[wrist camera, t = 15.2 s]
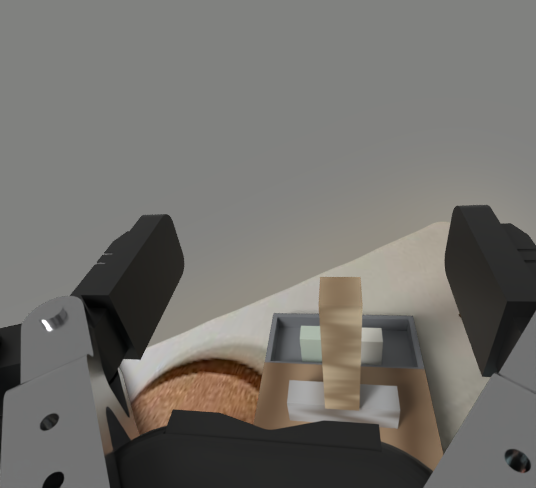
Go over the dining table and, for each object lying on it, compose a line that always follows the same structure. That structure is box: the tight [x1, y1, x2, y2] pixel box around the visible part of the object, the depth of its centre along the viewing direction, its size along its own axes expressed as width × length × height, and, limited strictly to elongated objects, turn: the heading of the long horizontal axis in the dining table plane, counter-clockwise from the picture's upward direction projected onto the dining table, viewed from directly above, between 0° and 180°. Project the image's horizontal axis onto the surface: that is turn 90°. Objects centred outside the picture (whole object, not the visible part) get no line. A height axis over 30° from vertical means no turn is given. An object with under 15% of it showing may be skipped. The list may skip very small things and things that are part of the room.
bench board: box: [254, 362, 443, 471], centre depth 37 cm, size 17×12×3 cm
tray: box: [265, 313, 424, 369], centre depth 45 cm, size 17×8×2 cm, turn 82°
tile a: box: [361, 328, 383, 365], centre depth 44 cm, size 4×4×2 cm
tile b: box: [300, 326, 322, 362], centre depth 45 cm, size 4×4×2 cm
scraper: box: [287, 277, 400, 429], centre depth 32 cm, size 10×3×16 cm, turn 82°
